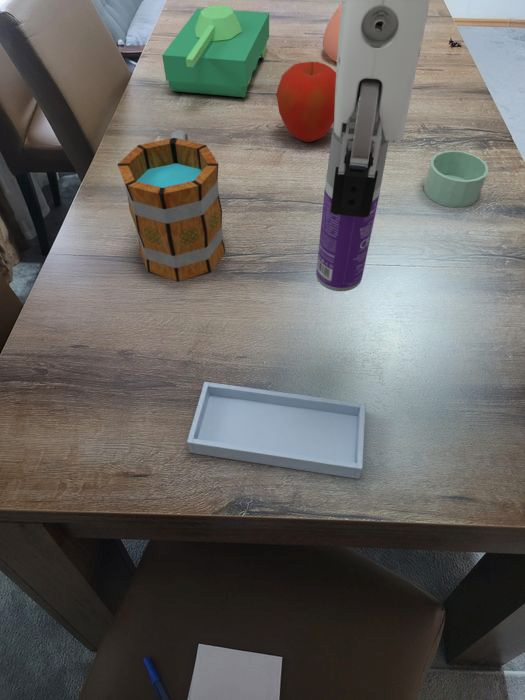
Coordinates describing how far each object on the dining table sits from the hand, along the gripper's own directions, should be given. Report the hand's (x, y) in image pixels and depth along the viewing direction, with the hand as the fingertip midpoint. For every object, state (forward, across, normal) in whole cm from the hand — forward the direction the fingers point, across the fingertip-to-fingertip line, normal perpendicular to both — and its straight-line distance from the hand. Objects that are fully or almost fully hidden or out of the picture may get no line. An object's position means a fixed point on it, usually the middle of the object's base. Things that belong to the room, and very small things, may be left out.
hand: (352, 192), depth 42 cm
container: (+10, 0, 0) cm, 10 cm away
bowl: (+26, +43, -18) cm, 53 cm away
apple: (+26, +56, +10) cm, 63 cm away
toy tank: (+26, +78, +33) cm, 89 cm away
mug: (+26, +22, +25) cm, 42 cm away
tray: (+26, -10, +4) cm, 28 cm away
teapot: (+26, +95, +3) cm, 99 cm away
